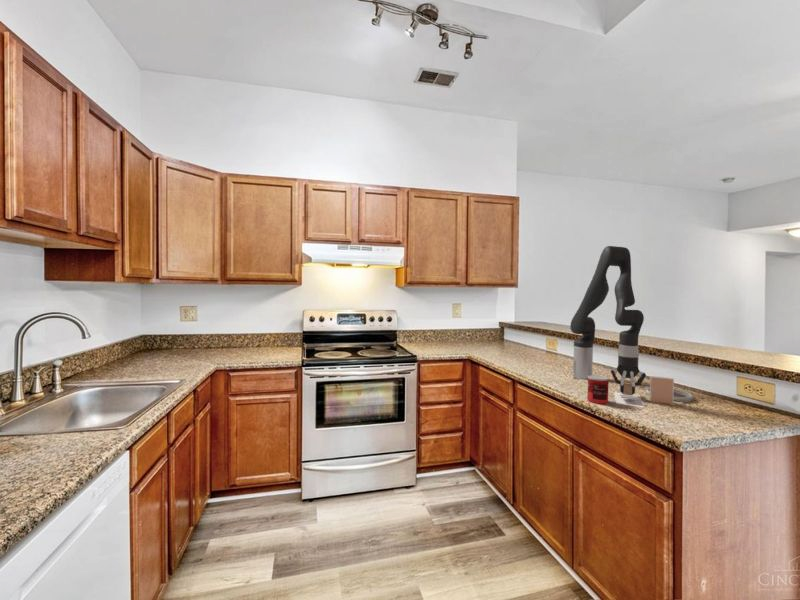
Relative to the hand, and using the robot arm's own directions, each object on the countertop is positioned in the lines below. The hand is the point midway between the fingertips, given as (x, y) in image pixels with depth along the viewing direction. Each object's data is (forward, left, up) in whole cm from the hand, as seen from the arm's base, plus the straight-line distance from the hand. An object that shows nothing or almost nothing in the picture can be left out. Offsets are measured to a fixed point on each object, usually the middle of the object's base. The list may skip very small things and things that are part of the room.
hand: (627, 393), depth 160 cm
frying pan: (+14, +16, -3) cm, 22 cm away
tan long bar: (0, -2, 0) cm, 2 cm away
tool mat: (0, -2, -2) cm, 3 cm away
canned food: (-12, -12, -2) cm, 17 cm away
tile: (+12, -1, -2) cm, 13 cm away
